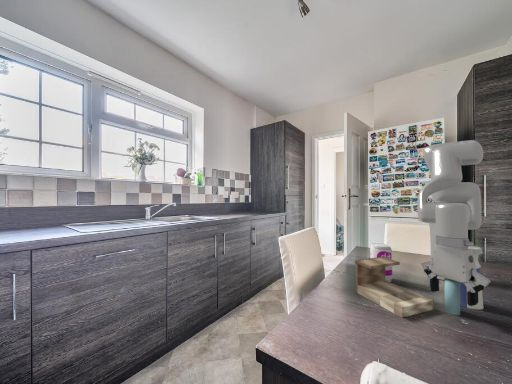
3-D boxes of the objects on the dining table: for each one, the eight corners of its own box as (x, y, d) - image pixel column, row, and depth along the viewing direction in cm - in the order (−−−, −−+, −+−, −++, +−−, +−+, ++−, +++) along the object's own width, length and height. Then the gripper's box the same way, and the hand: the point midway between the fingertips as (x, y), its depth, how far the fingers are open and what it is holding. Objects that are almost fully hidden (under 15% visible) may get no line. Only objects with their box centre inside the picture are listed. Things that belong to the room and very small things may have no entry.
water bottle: (444, 300, 74) (443, 228, 75) (457, 295, 78) (456, 227, 78) (475, 312, 67) (474, 232, 67) (489, 306, 70) (487, 230, 71)
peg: (449, 308, 69) (448, 277, 69) (463, 314, 66) (462, 281, 66) (442, 310, 68) (441, 278, 68) (455, 316, 64) (455, 283, 65)
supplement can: (395, 284, 88) (395, 247, 88) (374, 282, 90) (373, 246, 90) (387, 276, 96) (387, 243, 96) (367, 275, 98) (367, 242, 98)
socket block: (383, 286, 85) (382, 256, 85) (433, 309, 68) (432, 271, 68) (355, 292, 81) (355, 260, 81) (401, 317, 64) (401, 277, 64)
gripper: (496, 247, 60) (497, 309, 59) (429, 237, 76) (429, 285, 76) (480, 249, 58) (482, 313, 57) (414, 238, 74) (415, 288, 73)
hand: (452, 297), depth 66 cm, fingers open, 9 cm apart
